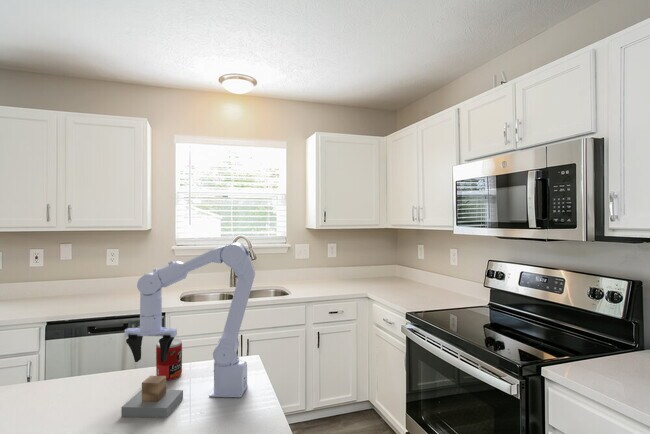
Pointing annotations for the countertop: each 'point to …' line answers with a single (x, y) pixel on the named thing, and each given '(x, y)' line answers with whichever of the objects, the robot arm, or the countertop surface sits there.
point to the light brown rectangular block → (153, 388)
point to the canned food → (170, 361)
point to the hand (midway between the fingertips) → (150, 360)
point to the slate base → (152, 405)
